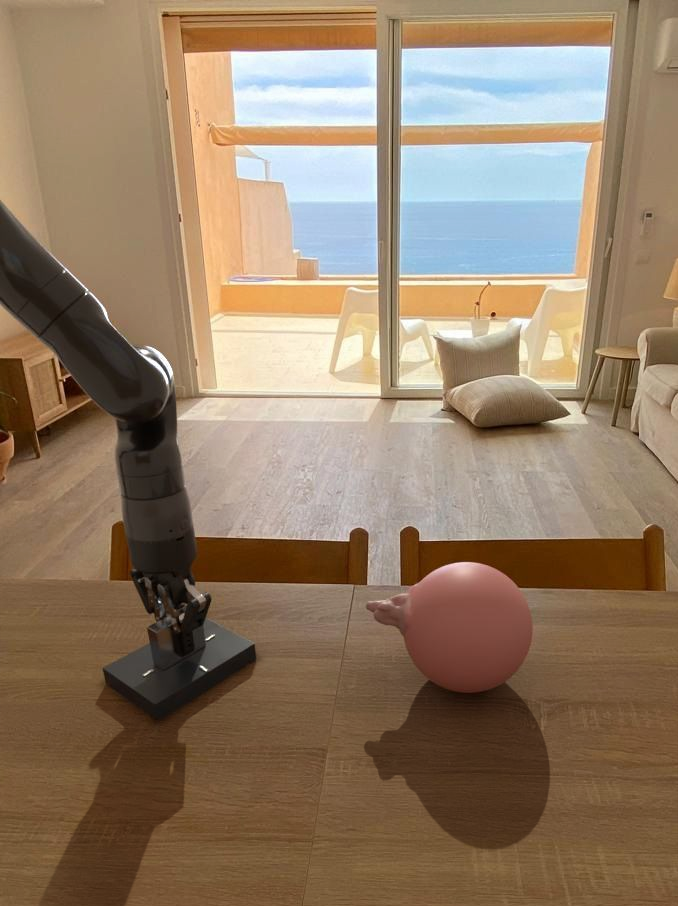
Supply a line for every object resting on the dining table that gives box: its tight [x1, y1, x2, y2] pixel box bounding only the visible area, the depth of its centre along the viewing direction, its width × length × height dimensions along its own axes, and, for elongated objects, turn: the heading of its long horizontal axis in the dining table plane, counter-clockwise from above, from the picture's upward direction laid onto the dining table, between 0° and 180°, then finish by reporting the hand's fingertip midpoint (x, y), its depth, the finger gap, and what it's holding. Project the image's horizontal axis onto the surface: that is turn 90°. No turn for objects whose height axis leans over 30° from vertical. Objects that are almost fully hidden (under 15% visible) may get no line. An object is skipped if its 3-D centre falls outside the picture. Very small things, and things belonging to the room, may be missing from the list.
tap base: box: [102, 617, 257, 722], centre depth 88 cm, size 15×11×3 cm
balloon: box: [365, 561, 534, 694], centre depth 84 cm, size 15×20×15 cm
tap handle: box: [146, 613, 206, 670], centre depth 86 cm, size 6×2×6 cm, turn 141°
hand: (179, 649), depth 87 cm, fingers closed on tap handle, 2 cm apart
